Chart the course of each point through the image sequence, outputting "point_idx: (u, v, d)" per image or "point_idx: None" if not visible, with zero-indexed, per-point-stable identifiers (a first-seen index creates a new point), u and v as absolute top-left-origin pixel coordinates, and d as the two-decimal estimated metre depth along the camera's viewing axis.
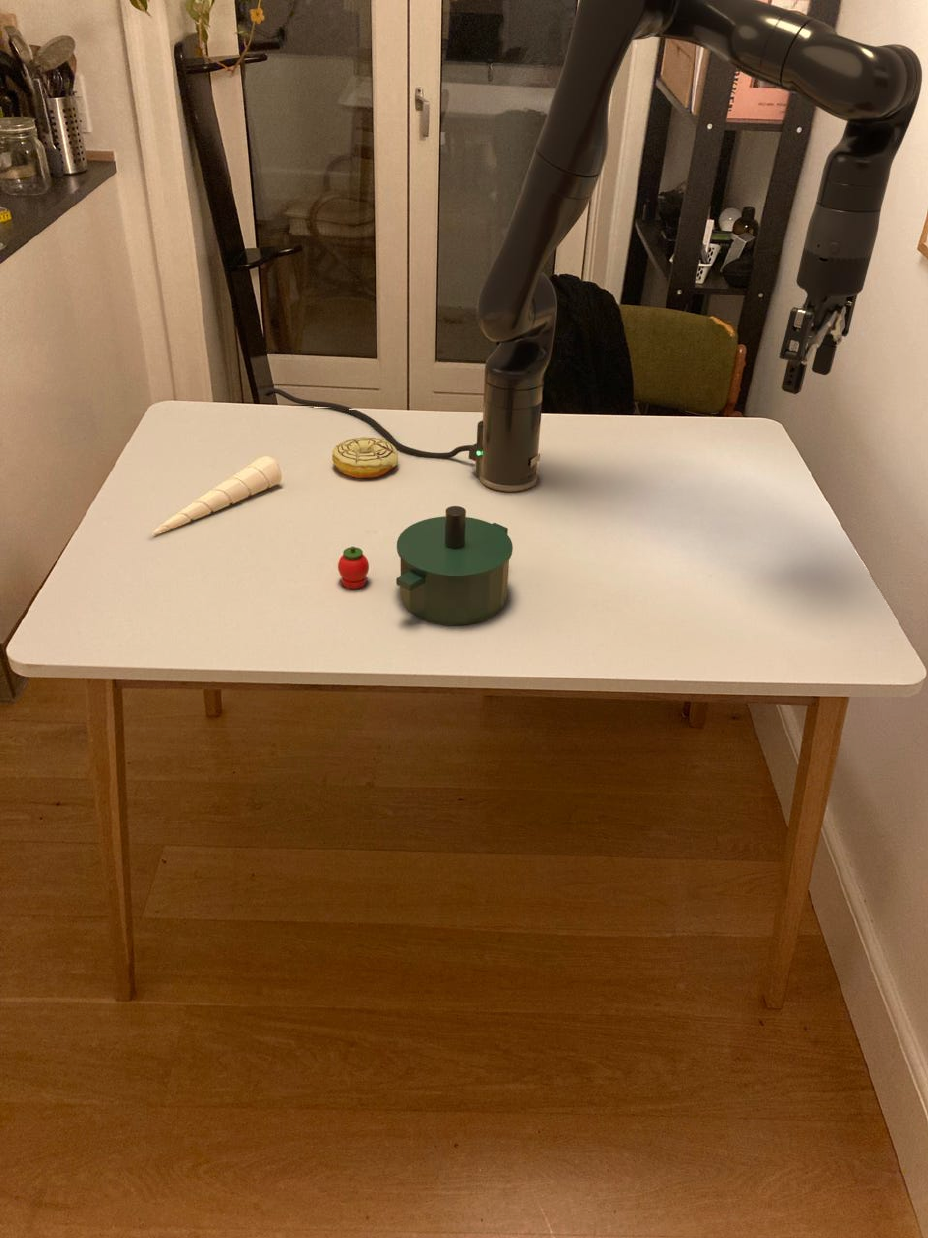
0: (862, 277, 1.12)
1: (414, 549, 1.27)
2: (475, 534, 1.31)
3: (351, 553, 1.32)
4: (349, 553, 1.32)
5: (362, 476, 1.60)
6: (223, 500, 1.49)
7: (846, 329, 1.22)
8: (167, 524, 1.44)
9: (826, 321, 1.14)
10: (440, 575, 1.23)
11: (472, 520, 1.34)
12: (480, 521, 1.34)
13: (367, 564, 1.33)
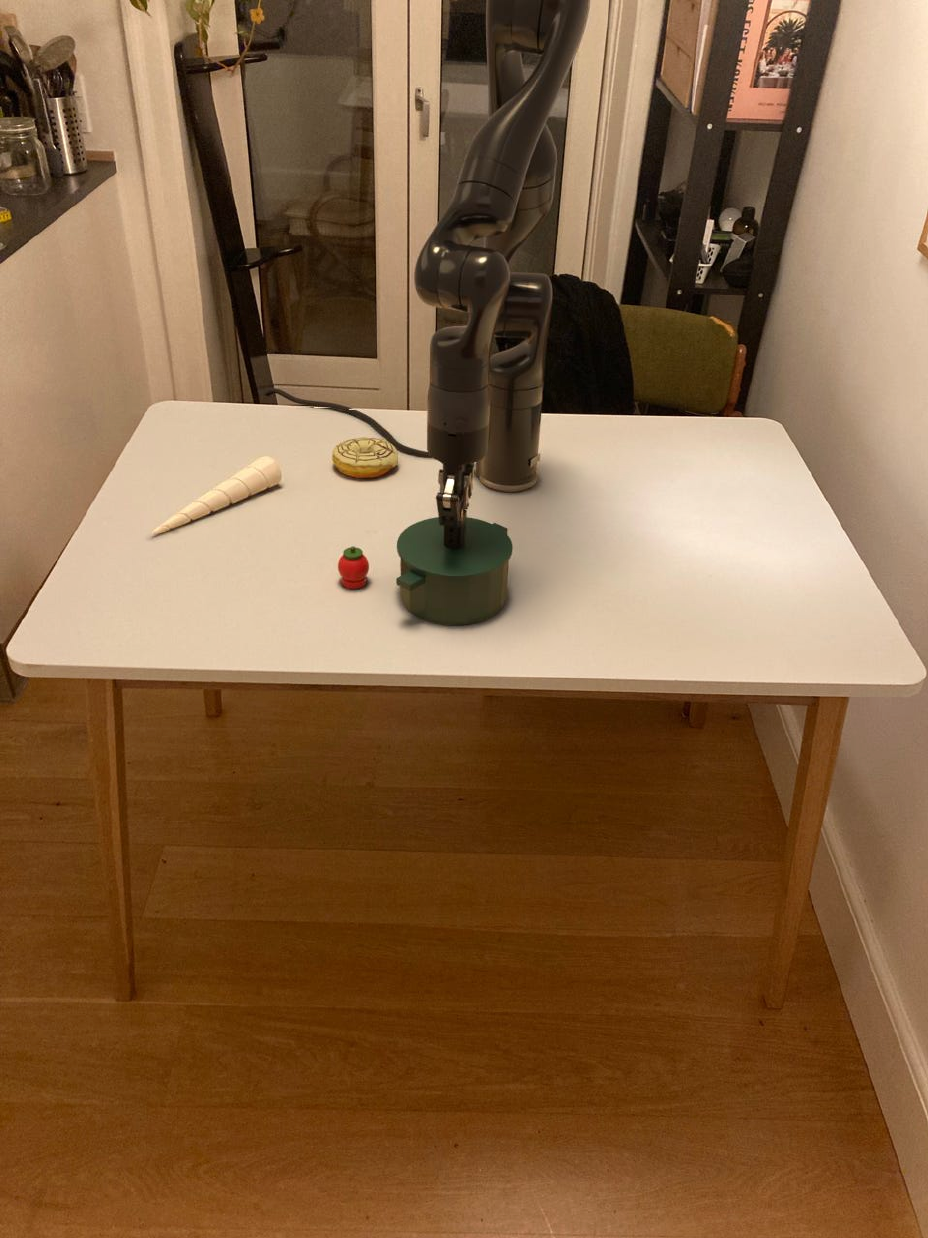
0: (487, 441, 1.19)
1: (414, 549, 1.27)
2: (475, 534, 1.31)
3: (351, 553, 1.32)
4: (349, 553, 1.32)
5: (362, 476, 1.60)
6: (223, 500, 1.49)
7: None
8: (167, 524, 1.44)
9: (466, 486, 1.21)
10: (440, 575, 1.23)
11: (472, 520, 1.34)
12: (480, 521, 1.34)
13: (367, 564, 1.33)
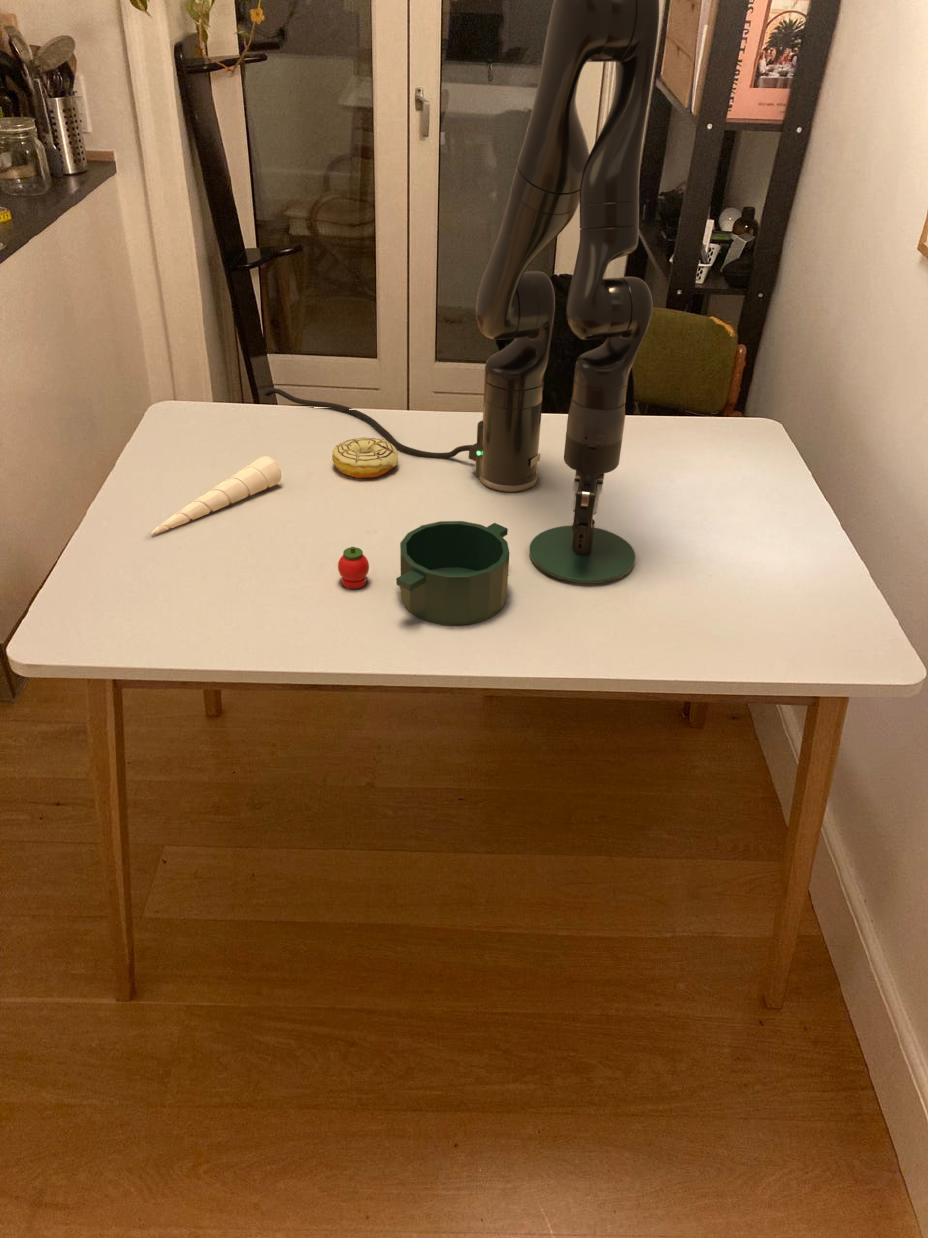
0: None
1: (546, 556, 1.40)
2: (599, 542, 1.44)
3: (351, 553, 1.32)
4: (349, 553, 1.32)
5: (362, 476, 1.60)
6: (222, 500, 1.49)
7: None
8: (166, 523, 1.44)
9: (598, 492, 1.33)
10: (575, 580, 1.36)
11: (593, 529, 1.47)
12: (601, 530, 1.47)
13: (367, 564, 1.33)
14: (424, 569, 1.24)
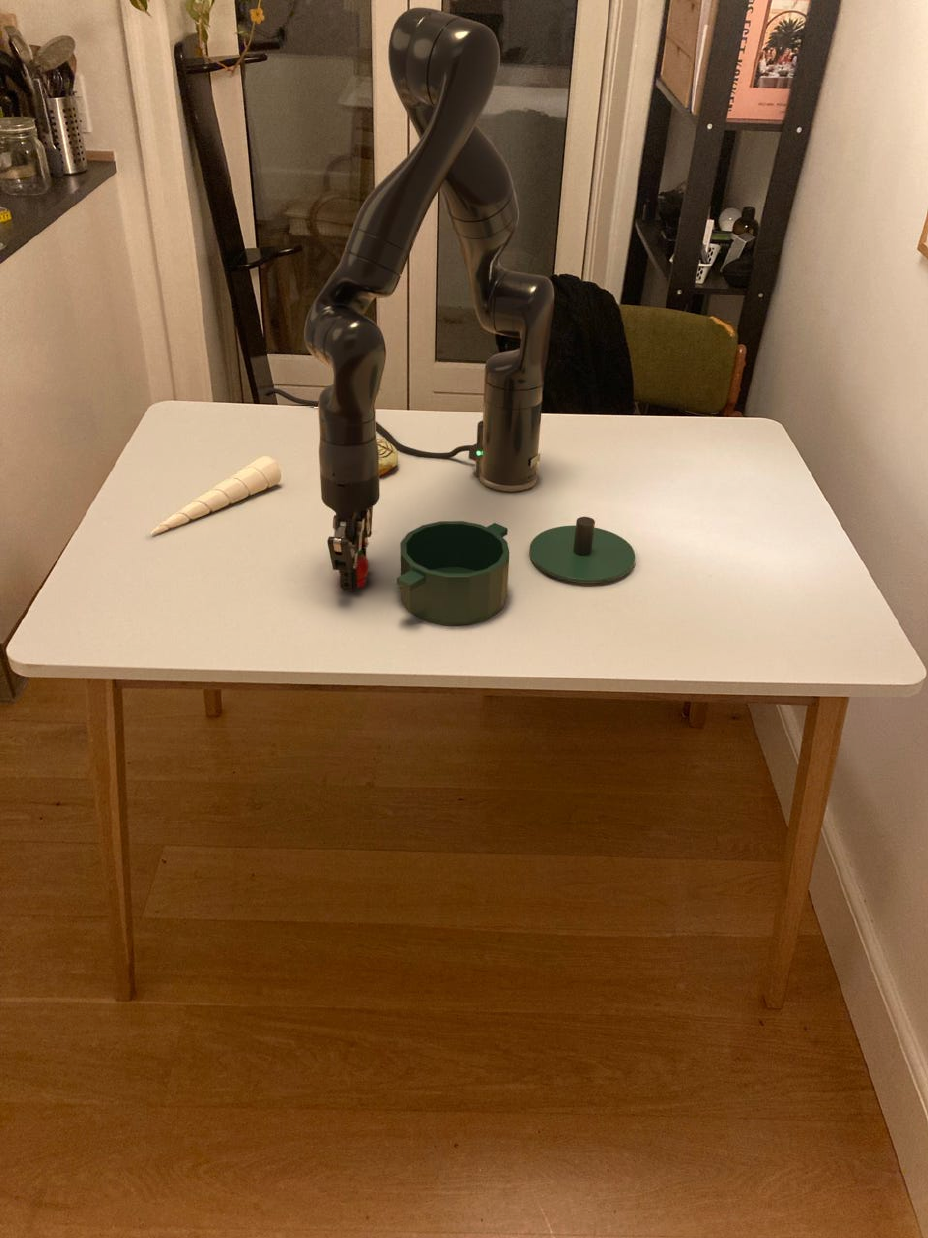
0: (377, 489, 1.26)
1: (546, 556, 1.40)
2: (599, 542, 1.44)
3: None
4: None
5: None
6: (222, 500, 1.49)
7: (369, 530, 1.35)
8: (166, 523, 1.44)
9: (358, 531, 1.28)
10: (575, 580, 1.36)
11: (593, 529, 1.47)
12: (601, 530, 1.47)
13: (367, 564, 1.33)
14: (424, 569, 1.24)
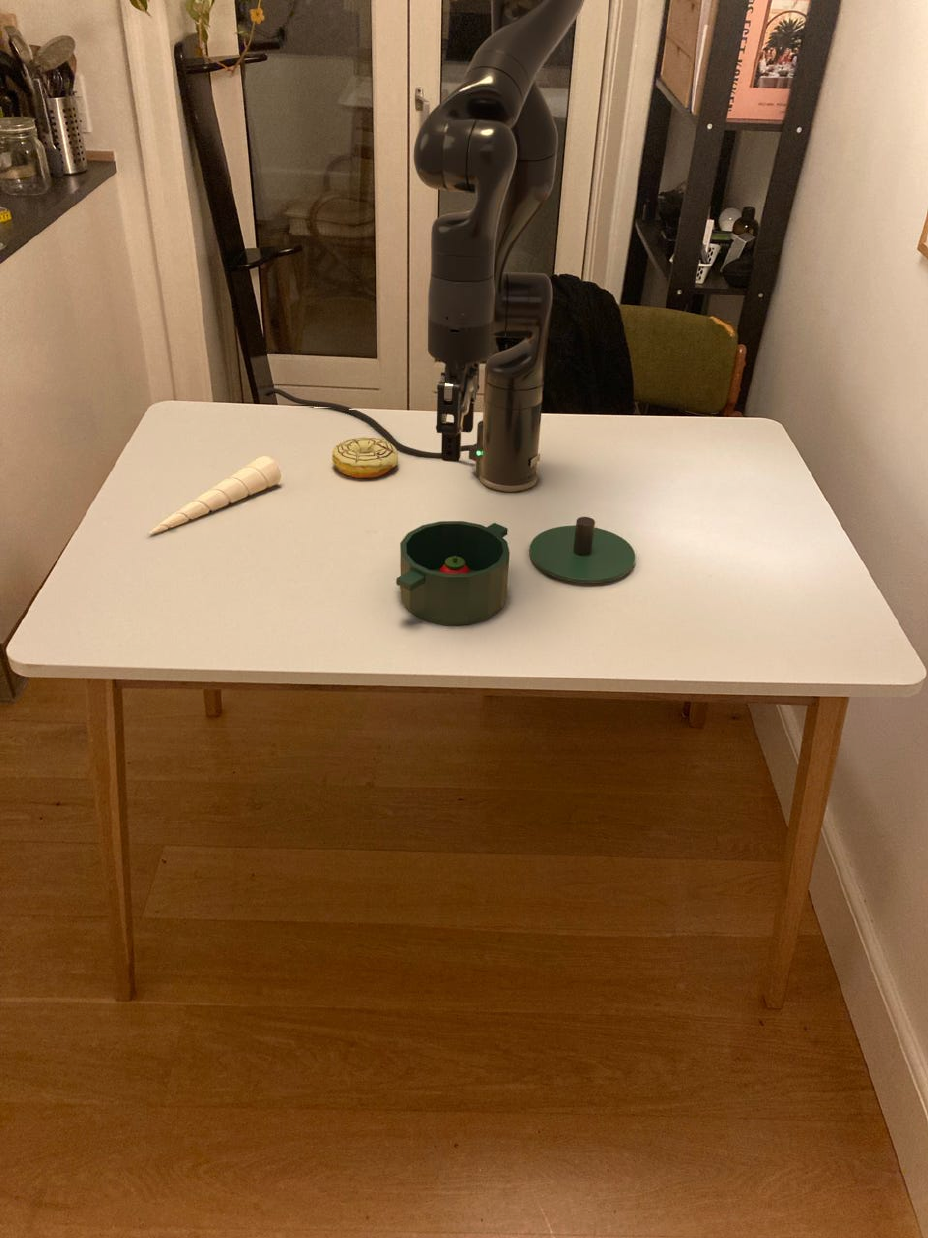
0: (492, 340, 1.12)
1: (546, 556, 1.40)
2: (599, 542, 1.44)
3: (453, 563, 1.30)
4: (451, 563, 1.30)
5: (362, 476, 1.60)
6: (221, 499, 1.49)
7: (477, 385, 1.22)
8: (165, 523, 1.44)
9: (469, 387, 1.14)
10: (575, 580, 1.36)
11: (593, 529, 1.47)
12: (601, 530, 1.47)
13: None
14: (424, 569, 1.24)
